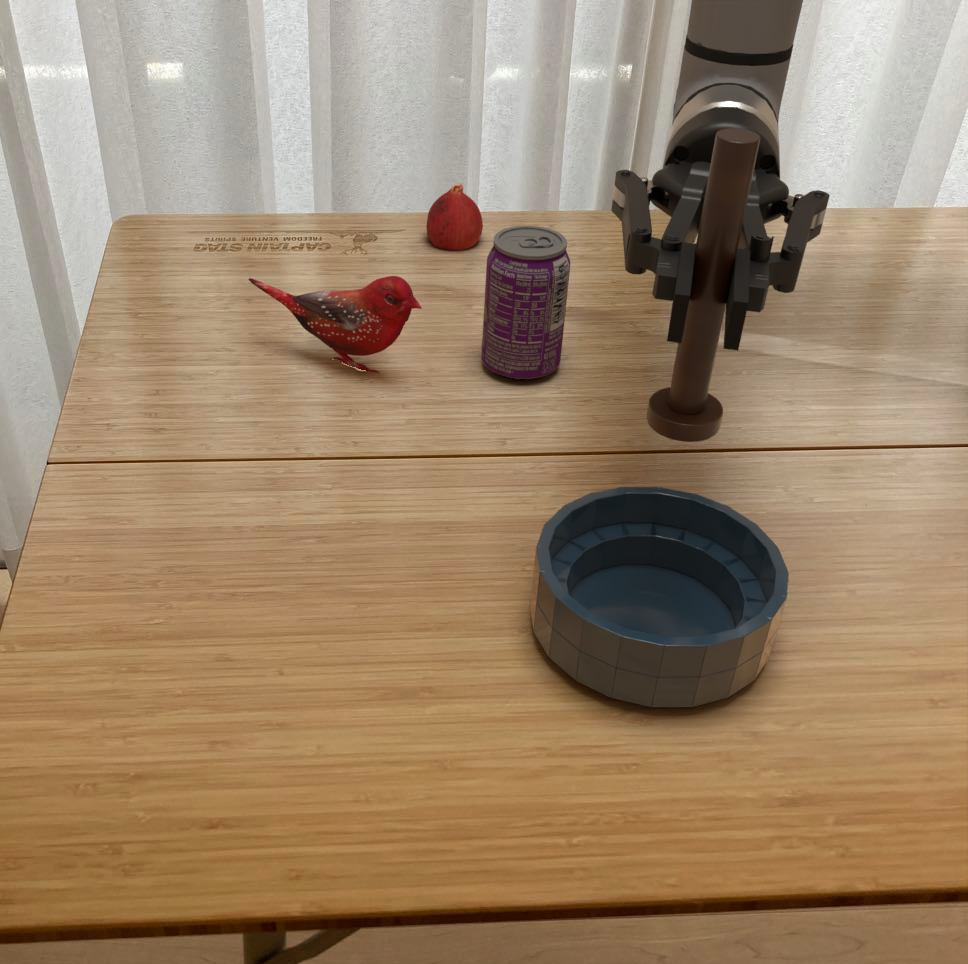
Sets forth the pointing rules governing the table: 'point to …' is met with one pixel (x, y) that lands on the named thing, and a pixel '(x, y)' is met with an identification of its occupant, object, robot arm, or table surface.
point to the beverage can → (525, 302)
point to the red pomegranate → (454, 221)
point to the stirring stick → (708, 293)
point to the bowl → (657, 595)
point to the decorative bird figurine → (352, 315)
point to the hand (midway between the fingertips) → (707, 322)
